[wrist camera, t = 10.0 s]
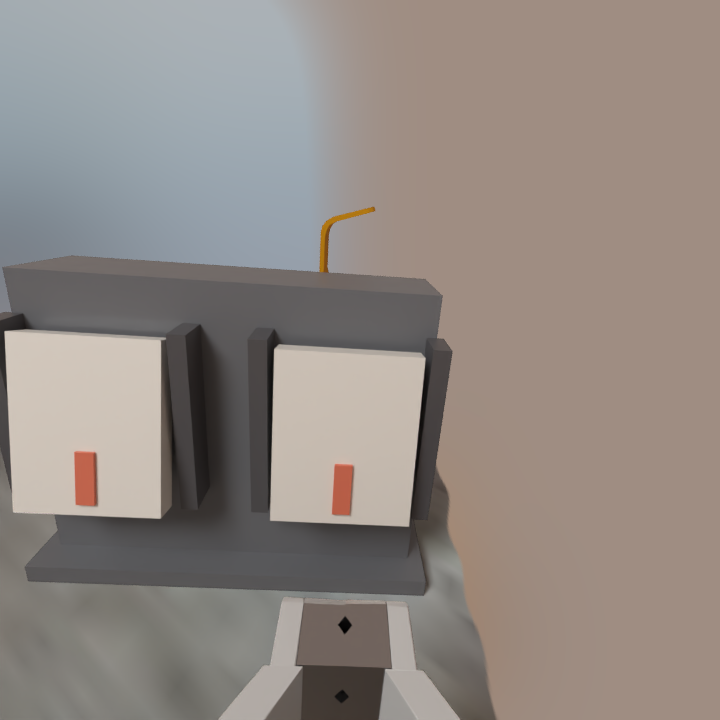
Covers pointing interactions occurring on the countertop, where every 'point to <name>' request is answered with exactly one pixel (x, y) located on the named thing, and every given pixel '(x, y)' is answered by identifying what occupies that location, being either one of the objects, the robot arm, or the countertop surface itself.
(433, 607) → the countertop surface
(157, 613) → the countertop surface
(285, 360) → the block
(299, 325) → the power panel
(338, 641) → the robot arm
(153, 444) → the block
